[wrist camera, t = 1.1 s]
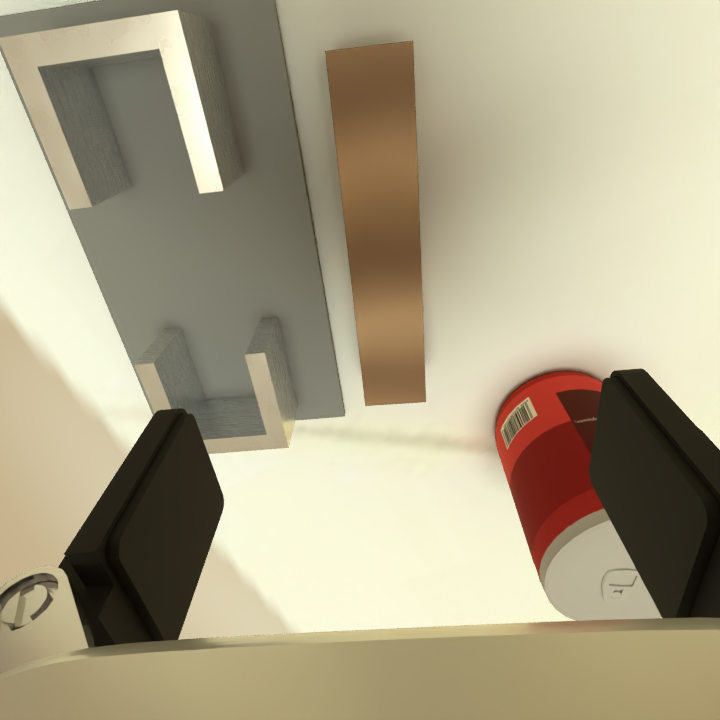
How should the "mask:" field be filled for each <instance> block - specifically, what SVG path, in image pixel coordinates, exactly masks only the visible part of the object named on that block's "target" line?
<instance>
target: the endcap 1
mask: <svg viewBox="0 0 720 720" xmlns="http://www.w3.org/2000/svg"><path fill="white" fill-rule="evenodd" d="M0 45H1V47H2V49H3V52H4V54H5V57H6V59H7V61H8V64H9V66H10V68H11V71H12V73H13V76H14V78H15V80H16V83H17V85H18V88H19V90H20V92H21V95H22V97H23V100H24V102H25V104H26V107H27V109H28V112H29V114H30V116H31V119H32V121H33V124H34V126H35V128H36V131H37V133H38V136H39V138H40V140H41V143H42V145H43V148H44V150H45V152H46V155H47V157H48V160H49V162H50V164H51V167H52V169H53V172H54V174H55V176H56V179H57V181H58V184H59V186H60V188H61V191H62V193H63V196H64V198H65V200H66V203H67V205H68V208H69V210H71V209H79V208H87V207H93V206H95V205H97V204H99V203H101V202H103V201H105V200H107V199H109V198H112V197H114V196H116V195H118V194H120V193H122V192H124V191H126V190H128V189H130V188H132V187H133V185H132V182H131V179H130V176H129V173H128V170H127V167H126V165H125V162H124V159H123V156H122V153H121V150H120V147H119V144H118V141H117V138H116V135H115V133H114V130H113V127H112V124H111V121H110V118H109V115H108V112H107V109H106V106H105V103H104V101H103V98H102V95H101V92H100V89H99V86H98V83H97V80H96V77H95V74H94V71H93V69H92V67H98V66H105V65H112V64H118V63H125V62H132V61H139V60H145V59H152V58H159V57H162V61H163V64H164V68H165V72H166V75H167V79H168V82H169V86H170V89H171V93H172V97H173V100H174V104H175V107H176V111H177V115H178V118H179V122H180V125H181V129H182V132H183V136H184V140H185V143H186V147H187V150H188V154H189V158H190V161H191V165H192V168H193V172H194V175H195V179H196V183H197V186H198V190H199V193H200V194H201V193H209V192H217V191H224V190H225V189H226V188H227V187H229V186H230V185H231V184H232V183H234V182H235V181H236V180H237V179H239V178H240V177H241V176H242V175H244V174H245V173H246V172H245V167H244V163H243V158H242V154H241V150H240V145H239V141H238V136H237V132H236V128H235V123H234V119H233V115H232V110H231V106H230V101H229V97H228V93H227V88H226V84H225V79H224V75H223V71H222V66H221V62H220V57H219V53H218V49H217V44H216V40H215V35H214V31H213V27H212V22H211V20H209V19H205V18H202V17H199V16H195V15H192V14H189V13H186V12H182V11H179V10H174V11H168V12H162V13H155V14H149V15H142V16H136V17H130V18H123V19H117V20H110V21H104V22H97V23H91V24H85V25H78V26H72V27H65V28H59V29H53V30H46V31H40V32H33V33H27V34H21V35H14V36H8V37H1V38H0Z"/></svg>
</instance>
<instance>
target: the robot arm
mask: <svg viewBox="0 0 720 720" xmlns="http://www.w3.org/2000/svg"><path fill="white" fill-rule="evenodd" d="M589 477H590V481H591V484H592V486H593V488H594V490H595V492H596V494H597V496H598V498H599V500H600V501H601V503H602V505H603V507H604V509H605V511H606V513H607V515H608V517H609V518H610V520H611V522H612V524H613V526H614V528H615V530H616V532H617V534H618V535H619V537H620V539H621V541H622V543H623V545H624V547H625V549H626V551H627V552H628V554H629V556H630V558H631V560H632V562H633V564H634V566H635V568H636V569H637V571H638V573H639V575H640V577H641V579H642V581H643V583H644V585H645V586H646V588H647V590H648V592H649V594H650V596H651V598H652V600H653V601H654V603H655V605H656V607H657V609H658V611H659V613H660V615H661V617H662V618H655V619H613V620H586V621H562V622H537V623H512V624H487V625H464V626H442V627H420V628H397V629H376V630H355V631H333V632H313V633H293V634H274V635H254V636H235V637H216V638H199V639H184V640H178V638H179V635H180V632H181V630H182V627H183V624H184V621H185V618H186V615H187V612H188V609H189V606H190V604H191V601H192V597H193V595H194V592H195V589H196V586H197V583H198V580H199V578H200V575H201V572H202V569H203V566H204V563H205V560H206V557H207V554H208V552H209V549H210V546H211V543H212V540H213V537H214V534H215V531H216V529H217V526H218V523H219V520H220V517H221V514H222V511H223V506H224V498H223V494H222V491H221V488H220V485H219V483H218V480H217V477H216V474H215V472H214V469H213V466H212V463H211V461H210V458H209V455H208V452H207V449H206V447H205V444H204V441H203V438H202V436H201V433H200V430H199V427H198V425H197V422H196V419H195V417H194V415H193V414H191V413H190V414H187V412H186V410H185V409H183V408H177V409H166V410H158V411H157V412H156V413H155V414H154V416H153V417H152V419H151V420H150V422H149V423H148V425H147V426H146V428H145V429H144V431H143V433H142V434H141V436H140V437H139V439H138V440H137V442H136V443H135V445H134V447H133V448H132V450H131V451H130V453H129V454H128V456H127V457H126V459H125V460H124V462H123V464H122V465H121V467H120V468H119V470H118V471H117V473H116V474H115V476H114V478H113V479H112V481H111V482H110V484H109V485H108V487H107V488H106V490H105V491H104V493H103V494H102V496H101V498H100V499H99V501H98V502H97V504H96V505H95V507H94V508H93V510H92V511H91V513H90V515H89V516H88V518H87V519H86V521H85V522H84V524H83V525H82V527H81V529H80V530H79V532H78V533H77V535H76V536H75V538H74V540H73V541H72V542H71V544H70V546H69V547H68V549H67V550H66V552H65V553H64V554H65V557H64V559H63V560H62V562H61V564H60V565H59V567H56V566H42V567H38V568H34V569H31V570H28V571H26V572H24V573H22V574H20V575H18V576H16V577H14V578H13V579H11V580H10V581H8V582H7V583H5V584H4V585H3V586H2V587H1V588H0V720H720V450H719V449H718V448H717V447H716V446H715V444H714V443H713V442H712V441H711V440H710V439H709V438H708V437H707V436H706V435H705V434H704V433H703V431H701V430H700V429H699V428H698V427H697V426H696V425H695V424H694V423H693V422H692V421H691V420H690V419H689V418H688V417H687V416H686V414H685V413H684V412H683V411H682V410H681V409H680V408H679V407H678V406H677V405H676V403H675V402H674V401H673V400H672V399H671V398H670V397H669V396H668V395H667V394H666V393H665V391H664V390H663V389H662V388H661V387H660V386H659V385H658V384H657V383H656V382H655V381H654V379H653V378H652V377H651V376H650V375H649V374H648V373H647V372H646V371H645V370H644V369H630V370H618V371H614V372H612V374H611V376H610V378H605V379H604V380H603V382H602V387H601V394H600V400H599V407H598V413H597V420H596V426H595V433H594V439H593V446H592V452H591V459H590V465H589Z"/></svg>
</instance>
